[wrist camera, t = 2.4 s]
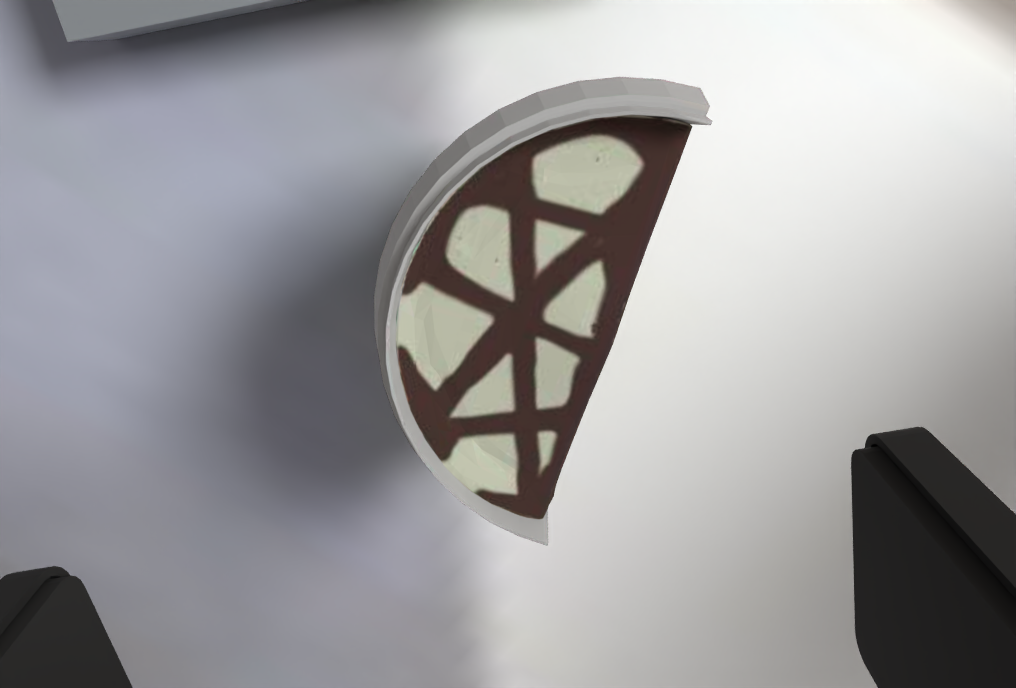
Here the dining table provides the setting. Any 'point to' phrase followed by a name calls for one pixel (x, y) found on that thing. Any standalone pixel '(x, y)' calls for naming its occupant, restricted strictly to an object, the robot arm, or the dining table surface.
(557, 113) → the food container
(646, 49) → the dining table surface
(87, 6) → the tray
